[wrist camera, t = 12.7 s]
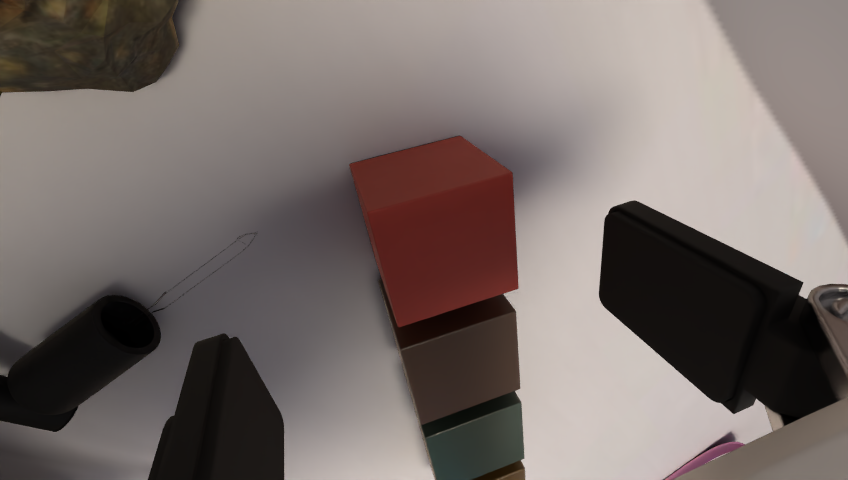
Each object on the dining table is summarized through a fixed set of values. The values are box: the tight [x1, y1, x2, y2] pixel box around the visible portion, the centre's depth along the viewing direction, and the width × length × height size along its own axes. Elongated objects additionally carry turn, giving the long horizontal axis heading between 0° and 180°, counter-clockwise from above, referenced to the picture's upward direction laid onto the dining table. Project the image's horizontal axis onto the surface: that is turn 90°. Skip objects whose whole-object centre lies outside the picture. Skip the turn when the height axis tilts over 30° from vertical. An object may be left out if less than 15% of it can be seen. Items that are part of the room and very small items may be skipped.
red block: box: [349, 136, 518, 327], centre depth 13 cm, size 4×4×4 cm
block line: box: [378, 279, 525, 480], centre depth 18 cm, size 4×14×4 cm, turn 10°
